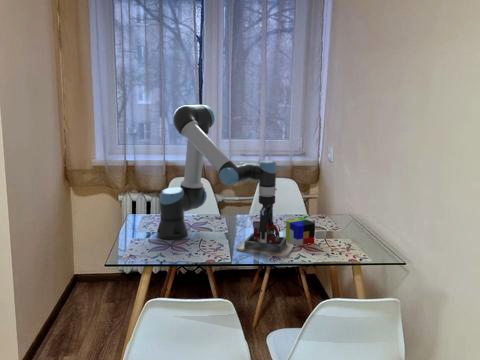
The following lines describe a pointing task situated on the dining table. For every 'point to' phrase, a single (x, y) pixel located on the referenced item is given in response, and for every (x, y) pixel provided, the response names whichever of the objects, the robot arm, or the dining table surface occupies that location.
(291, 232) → the puzzle toy
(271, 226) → the toy fire truck
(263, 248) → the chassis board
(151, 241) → the dining table surface
